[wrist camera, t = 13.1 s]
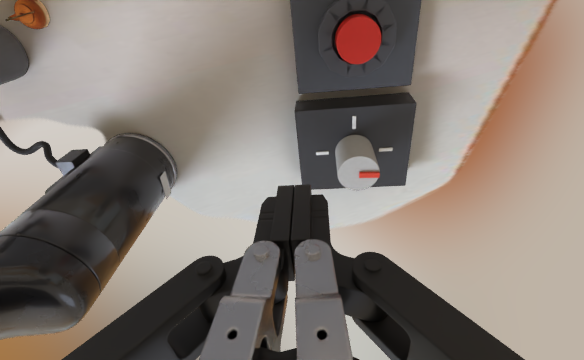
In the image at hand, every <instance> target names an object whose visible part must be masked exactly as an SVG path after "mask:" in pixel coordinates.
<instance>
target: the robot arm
mask: <svg viewBox="0 0 584 360" xmlns="http://www.w3.org/2000/svg"><path fill="white" fill-rule="evenodd" d="M0 139H1V140H2V142H3V143H4V144H5V145H6V146H7V147H9V149H11V150H12V151H14V152H16V153H18V154H22V155H28V154H32V153H34V152H35V151H37V150H38V149H39V148H41V147H43V148H44V154H45V157H46V159H47V161H48V162H49V163H51V164H52V165H53V166H55V167H57V168H59V169H60V171H61V172H62V174H63V175H64V176H63V177H62V178H60V179H59V180H58V181H57V182H55V183H54V184H53V185H52V186H50V187H49V188H48V189H47V190H46V192H45V195H44V196H42V197H41V198H40V199H39V200H38V201H36V202H35V203H34V204H33V205H32V206H31V207H29V208H28V209H27V210H26V211H25V212H23V213H22V214H21V215H20V216H18V218H16V219H15V220H14V221H12V222H11V223H10V224H9V225H8V226H7V227H5V228H4V229H3V230H2V231H0V340H2V339H7V338H13V337H20V336H32V335H46V334H54V333H59V332H62V331H65V330H68V329H70V328H72V327H73V326H75V325H77V323H79V322H80V321H81V320H82V319H83V318H84V317H85V315H86V314H87V313H88V311H89V310H90V308H91V307H92V305H93V304H94V302H95V301H96V299H97V298H98V296H99V295H100V293H101V292H102V290H103V289H104V288H105V286H106V285H107V283H108V282H109V280H110V279H111V277H112V276H113V274H114V272H115V271H116V269H117V268H118V266H119V265H120V263H121V262H122V260H123V259H124V257H125V255H126V254H127V253H128V251H129V250H130V248H131V247H132V245H133V244H134V242H135V241H136V239H137V238H138V236H139V235H140V233H141V232H142V230H143V229H144V227H145V226H146V224H147V223H148V221H149V220H150V218H151V217H152V215H153V214H154V212H155V211H156V209H157V208H158V206H159V205H160V203H161V202H162V200H163V199H164V197H165V196H166V199H167V198H168V197H169V195H170V194H171V188H172V187H173V185H174V184H175V182H176V179H177V168H176V165H175V162H174V160H173V158H172V157H171V155H170V154H169V153H168V152H167V150H166V149H165V148H164V147H162V146H161V145H160V144H159V143H157V142H156V141H154V140H152V139H150V138H148V137H146V136H143V135H139V134H134V133H124V134H119V135H116V136H114V137H113V138H111V139H110V140H109V141H108V142H107V143H106V144H105V145H104V146H103V147H98V148H97V149H96V150H95V151H94V152H92V153H91V154H89V152H88V150H87V149H83V150H72V151H70V152H69V153H68V154H66V155H65V156H63V157H62V158H61V159H59V160H58V161H57V160H56V159H55V158H54V157H53V156H52V152H51V147H50V145H49V144H48V143H46V142H43V141H41V142H37V143H35V144H34V145H33V146H31V147H30V148H28V149H21V148H19V147H17V146H16V145H15V144H13V143H12V142H11V141H10V139H9V138H8V137H7V135H6V134H5V133H4V131H3V130H2V129H1V127H0ZM295 279H296V298H295V311H296V312H295V314H296V341H297V343H296V344H297V348H295V349H291V350H287V351H283V352H280V346H281V337H282V330H283V324H284V318H285V312H286V306H287V298H288V296H287V291H288V281H294V280H295ZM197 307H198V308H197ZM345 315H349V316H352V318H353V320H354V322H355V323H356V324H357V325H358V326H359V327H360V328H361V329H362V330H363V331H364V332H365V333H366V334H367V335H368V336H369V338H370V339H371V340H372V341H373V342H374V343H375V344H376V345H377V346H378V347H379V348H380V349H381V350H382V351H383V352H384V353H385V354H386V355H387V356H388V357H389V358H390V359H391V360H525V359H523V358H522V357H520V356H519V355H518V354H516V353H515V352H514V351H512V350H511V349H510V348H508V347H507V346H506V345H504V344H503V343H501V342H500V341H499V340H497V339H496V338H495V337H493V336H492V335H491V334H489V333H488V332H487V331H485V330H484V329H483V328H481V327H480V326H479V325H477V324H476V323H475V322H473V321H472V320H470V319H469V318H468V317H466V316H465V315H464V314H462V313H461V312H460V311H458V310H457V309H456V308H454V307H453V306H451V305H450V304H449V303H447V302H446V301H445V300H443V299H442V298H441V297H439V296H438V295H437V294H435V293H434V292H433V291H431V290H430V289H428V288H427V287H426V286H424V285H423V284H422V283H420V282H419V281H418V280H416V279H415V278H414V277H412V276H411V275H410V274H408V273H407V272H406V271H404V270H403V269H402V268H400V267H399V266H397V265H396V264H395V263H393V262H392V261H391V260H389V259H388V258H387V257H385V256H383V255H381V254H379V253H375V252H365V253H362V254H360V255H358V256H357V257H356V258H351V257H347V256H344V255H341V254H339V253H338V252H337V251H335V250H334V249H333V247H332V245H331V242H330V229H329V216H328V202H327V200H326V199H325V197H324V196H323V195H311V184H309V185H295V187H294V185H290V186H278V191H277V197H268V198H267V199H266V200H265V201H264V202H263V204H262V206H261V210H260V215H259V220H258V224H257V228H256V233H255V238H254V242H253V244H252V245H251V246H250V247H248V248H247V250H246V251H245V253H244V256H242V257H240V258H238V259H236V260H232V261H229V262H225V263H223V262H222V260H221V259H220V258H218V257H215V256H205V257H202V258H199V259H197V260H196V261H194V262H193V263H192V264H190V265H189V266H187V267H186V268H185V269H183V270H182V271H181V272H179V273H178V274H177V275H175V276H174V277H173V278H171V279H170V280H168V281H167V282H166V283H165V284H163V285H162V286H160V287H159V288H158V289H156V290H155V291H154V292H152V293H151V294H150V295H148V296H147V297H145V298H144V299H143V300H141V301H140V302H139V303H137V304H136V305H135V306H133V307H132V308H131V309H129V310H128V311H127V312H125V313H124V314H123V315H121V316H120V317H119V318H117V319H116V320H114V321H113V322H112V323H111V324H109V325H108V326H107V327H105V328H104V329H103V330H101V331H100V332H98V333H97V334H96V335H94V336H93V337H92V338H90V339H89V340H87V341H86V342H85V343H84V344H82V345H81V346H79V347H78V348H77V349H75V350H74V351H73V352H71V353H70V354H69V355H68V356H66V357H65V358H63V359H62V360H196V358H198V357H199V356H200V358H199V360H359V359H357V358H354V357H352V352H351V346H350V341H349V336H348V330H347V324H346V320H345Z"/></svg>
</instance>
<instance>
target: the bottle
mask: <svg viewBox="0 0 584 360" xmlns="http://www.w3.org/2000/svg"><path fill="white" fill-rule="evenodd" d="M27 69H28V58H27V55H26V52H25V50H24V48H23V47H22V45H21V43H20V42H19V41H18V40H17V39H16V37H15V36H14V35H13V34H12V33H10V32H9V31H8V30H7V29H5V28H4V27H2V26H0V85H1V84H4V83H7V82H9V81H12V80H15V79H17V78H19V77H21V76H23V75H24V74H25V73H26V72H27Z"/></svg>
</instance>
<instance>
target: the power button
mask: <svg viewBox="0 0 584 360" xmlns="http://www.w3.org/2000/svg"><path fill="white" fill-rule="evenodd" d="M335 43H336V47H337V50H338V53H339V55H340V56H341V58H342V59H343V60H345V61H346V62H348V63H351V64H362V63H365V62H367V61H369V60H370V59H371V58H373V57H374V55H375V54H376V53H377V51H378V49H379V47H380V44H381V31H380V28H379V26H378V25H377V23H376V22H375V21H374V20H372V19H371V18H370V17H369V16H367V15H364V14H354V15H351V16H349V17H347V18H346V19H345V20H343V22H342V23H341V24H340V25H339V27H338V29H337V32H336V36H335Z"/></svg>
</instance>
